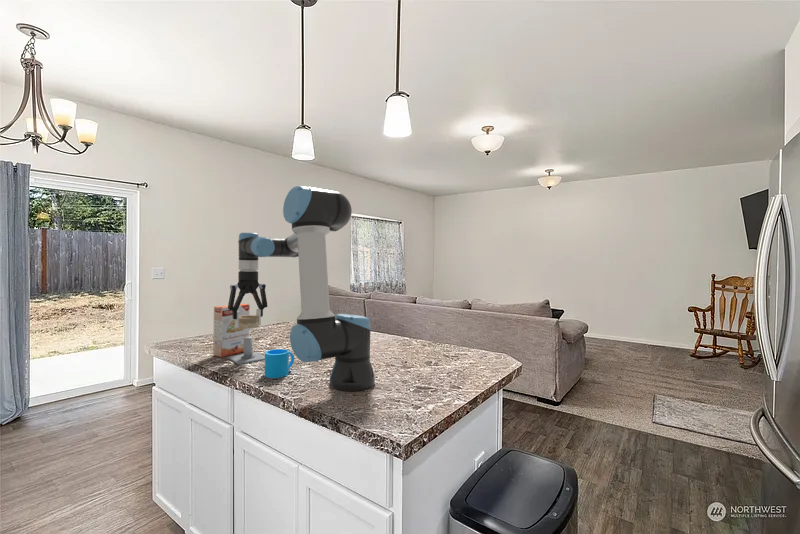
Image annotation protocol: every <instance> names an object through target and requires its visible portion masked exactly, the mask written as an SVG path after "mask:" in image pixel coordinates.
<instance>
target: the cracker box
mask: <svg viewBox="0 0 800 534" xmlns="http://www.w3.org/2000/svg"><path fill="white" fill-rule="evenodd" d="M233 306H234V305H233ZM237 311H239V316H244V315H250V304H249V303H240V306H239V308H238V310H237ZM212 334H213V335H212V336H213V337H212V338H213V340H212V341H213V347H212V349H213V350H212V351H213V353H212V355H213V356H215V357H219V358H223V357H229V356H233V355H237V354H239V353H244V338H245V337H250V328H248V329H245V328H236V327H235V319H233V311H232V310H229V309H228V304H226V305H218V306H217V305H216V306H213V332H212Z"/></svg>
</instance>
